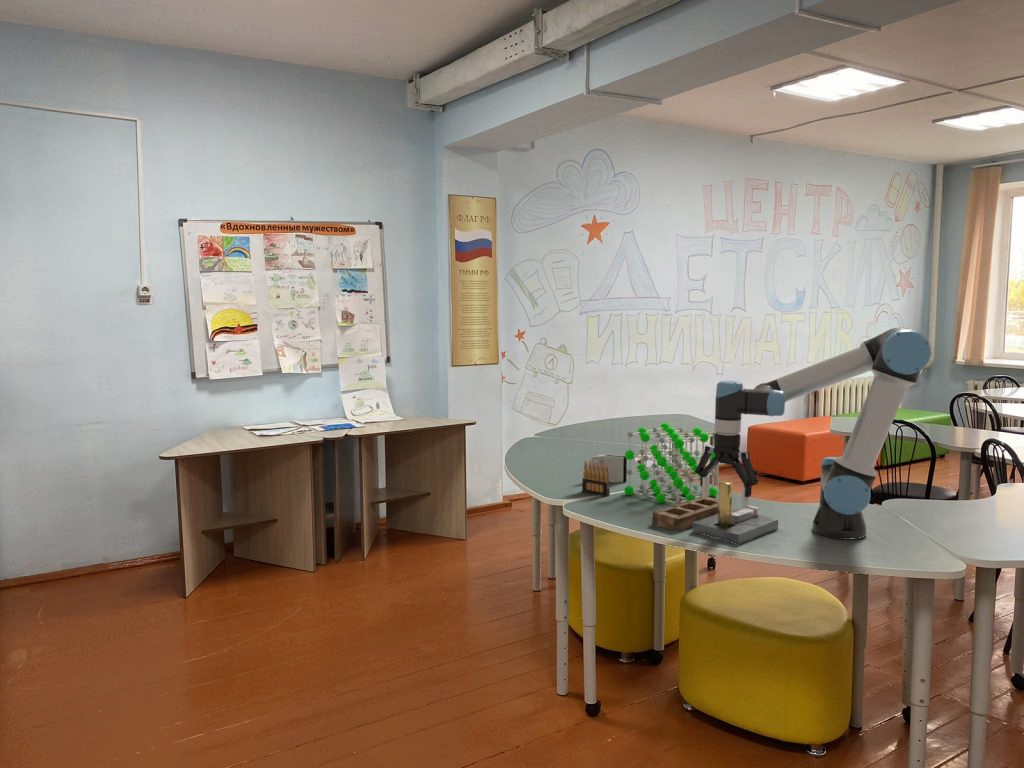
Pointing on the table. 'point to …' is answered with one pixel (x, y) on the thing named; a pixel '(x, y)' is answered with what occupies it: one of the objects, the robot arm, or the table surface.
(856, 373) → the robot arm
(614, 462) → the grey rectangular box
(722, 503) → the peg
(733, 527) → the socket housing
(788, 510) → the table surface
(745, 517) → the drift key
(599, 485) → the ammunition clip
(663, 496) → the molecular structure model
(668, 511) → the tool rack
